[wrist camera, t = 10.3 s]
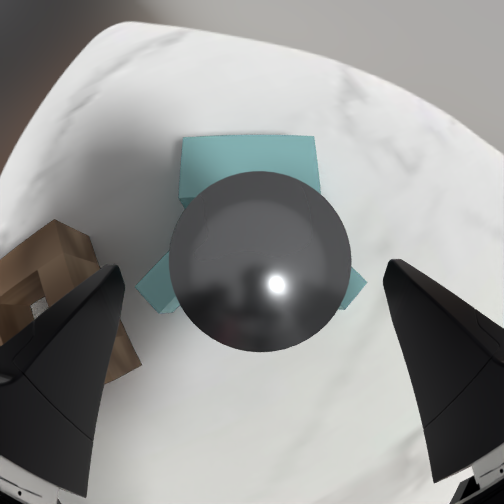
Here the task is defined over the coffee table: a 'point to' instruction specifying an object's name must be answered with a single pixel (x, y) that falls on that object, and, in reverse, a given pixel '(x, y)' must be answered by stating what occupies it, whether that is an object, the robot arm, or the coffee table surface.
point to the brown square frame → (53, 285)
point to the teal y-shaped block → (226, 164)
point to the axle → (260, 261)
